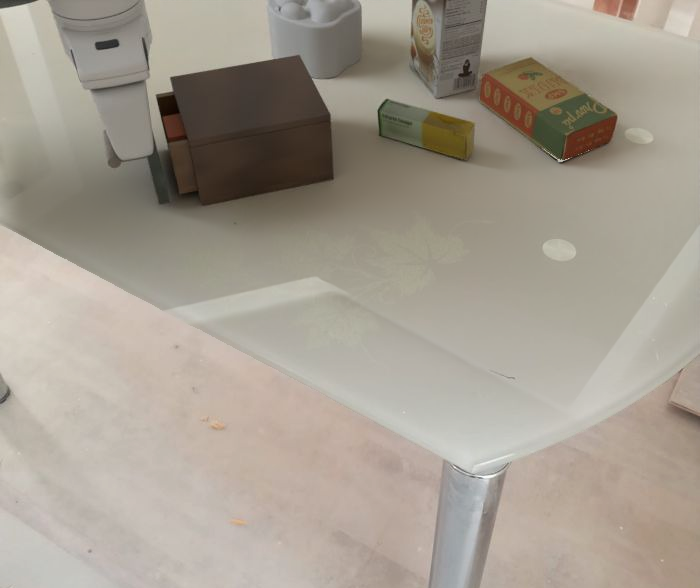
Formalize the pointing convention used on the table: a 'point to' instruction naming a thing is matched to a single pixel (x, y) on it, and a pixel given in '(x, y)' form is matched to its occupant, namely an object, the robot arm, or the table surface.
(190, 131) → the cabinet
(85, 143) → the table surface
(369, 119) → the table surface
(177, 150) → the drawer
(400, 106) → the medication box
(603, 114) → the carton
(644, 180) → the table surface
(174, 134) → the block
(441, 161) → the table surface
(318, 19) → the lumpy-topped squat cylinder
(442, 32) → the coffee box
